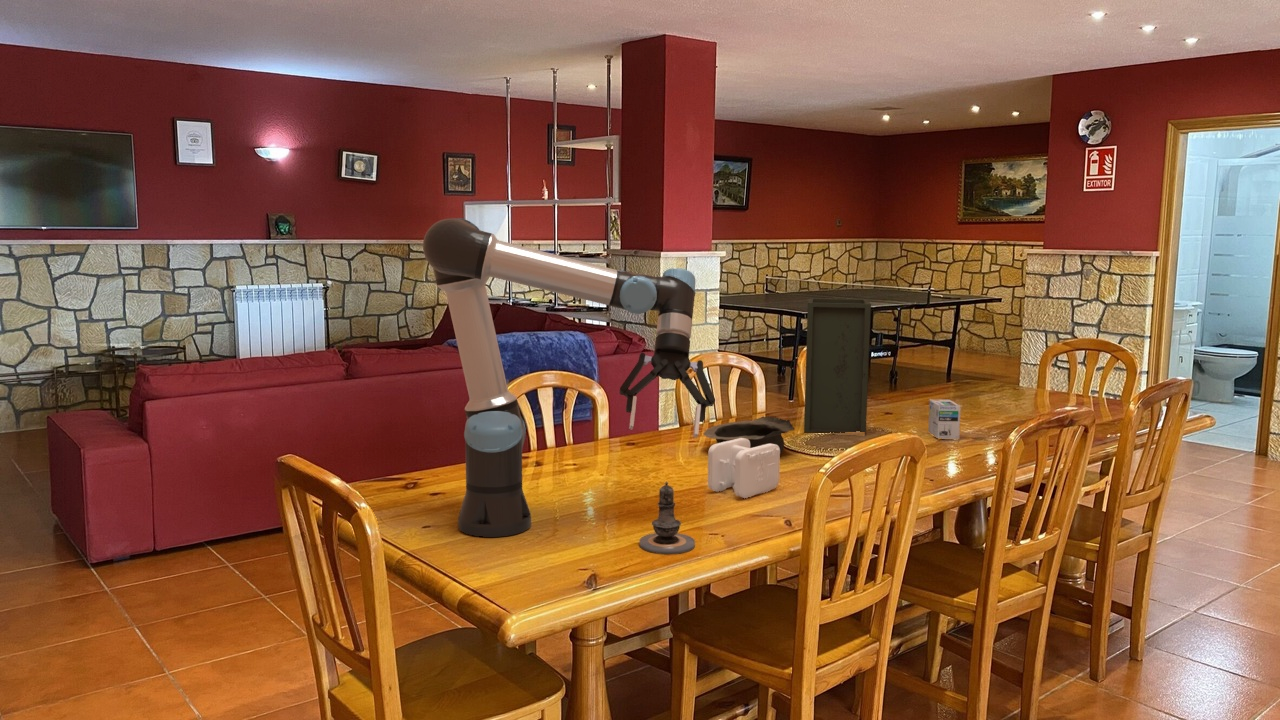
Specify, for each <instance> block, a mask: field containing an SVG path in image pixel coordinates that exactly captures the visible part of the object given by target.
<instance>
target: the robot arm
mask: <svg viewBox="0 0 1280 720" xmlns="http://www.w3.org/2000/svg"><path fill="white" fill-rule="evenodd" d="M422 250H423V251H422V252H423V254H424V255H423V256H424V258H425V260H426V261H427V263H428V264H429V266H431V268H432V270H433V273H434V278H435V283H436V286H437V288H439V289H440V290H441V291H443V292H444V293H445V294H446V301H447V304H448V308H449V312H450V317H451V321H452V325H453V326H452V327H453V330H454V334H455V340H456V345H457V348H458V353H459V358H460V363H461V366H462V372H463V376H464V379H465V385H466V389H467V392H468V397H469V400H468V402H467V403H466V405H465V407H464V412H465V416H466V421H465V424H464V425H465V427H464V432H463V437H464V440H465V441H464V442H465V446H464V447H465V487H466V488H465V495H464V497H463V501H462V504H461V507H460V510H459V514H458V519H457V522H458V524H457V526H458V531H460V532H461V531H462V532H461V533H463V532H464V533H463V534H465V533H466V534H465V535H468V534H469V536H472V535H474V536H473V537H479V536H483V537H482V538H498V537H499V538H500V537H507V536H509V537H510V536H514V535H518V534H521V533H523V532H526V531H527V530H529V529H530V528H531V527H532V514H531V511H530V508H529V504H528V502H527V498H526V496H525V493H524V490H523V448H524V443H525V440H526V434H527V433H526V431H527V430H526V424H525V422H524V420H523V417H522V416H521V411H520V407H519V403H518V398H517V396H516V395H515V394H513V393H512V392H510V391H509V389H508V385H507V380H506V375H505V370H504V366H503V360H502V357H501V353H500V352H501V351H500V348H499V342H498V338H497V333H496V328H495V325H494V320H493V315H492V311H491V306H490V301H489V296H488V291H487V287H486V284H487V282H488V280H489V279H490V278H495V279H498V280H503V281H507V282H510V283H515V284H518V285H523V286H528V287H532V288H535V289H540V290H543V291H548V292H551V293H552V292H553V293H555V294H561V295H563V296H567V297H571V298H576V299H581V300H585V301H589V302H593V303H597V304H602V305H605V306H610V307H613V308H616V309H621V310H624V311H625V310H626V311H627V312H628V313H631V314H636V315H641V314H645V313H647V312H649V311H653V312H654V311H657V312H658V314H657V315H658V316H657V325H656V332H655V333H656V337H655V340H654V342H655V343H654V349H653V350H654V351H653V352H654V353H653V355H652V356H651V355H650V356H649V355H646V353H645V352H641V353H640V354H639V356H638V361H637V362H636V364H635V366H634V367H633V368H632V369H631V371H630V373H629V374H628V376H627V378H626V379H625V380H624V381H623V383H622V384H621V386H620V387H619V395H622V396H625V398H626V405H625V412H626V413H629V414H630V416H629V417H630V418H629V426H628V429H629V430H632V431H633V429H634V425H635V417H636V415H635V414H636V410H637V409H636V407H637V406H636V405H637V399H638V398H637V395H638V394H639V393H640V392H641V391H642V390H643V389H645V388H646V387H647V386H648V385H649V384H650V383H651V382H652V381H654V380H655V379H656V378H657V377H659V378H661V380H671V381H677V380H679V381H680V382H681V383H682V384H683V386H685V388H686V389H687V391H688V392H689V393H690V395H691V397H692V398H693V399H694V401H695V402H696V403H697V404H696V407H695V410H694V413H695V414H694V423H693V435H692V438H696V439H697V438H698V435H699V431H700V430H699V429H700V422H701V423H704V421H705V419H706V413H707V412H706V411H707V408H708V407H713V406H714V404H715V402H716V398H715V396H714V394H713V391H712V389H711V386H710V384H709V382H708V379H707V376H706V374H705V371H704V362H703V360H698V361H690V349H691V348H690V347H691V340H690V339H691V337H692V327H693V316H694V315H693V313H694V306H695V299H696V297H695V296H696V276H695V275H694V273H693V272H691V271H690V270H687V269H684V268H680V267H677V268H674V267H672V268H668V269H666V270H664V272H663V273H662V276H655V275H654V276H653V275H649V274H644V273H639V272H633V271H627V270H618V269H613V268H610V267H605V266H602V265H598V264H595V263H591V262H590V263H589V262H587V261H583V260H579V259H574V258H570V257H566V256H562V255H558V254H554V253H550V252H547V251H543V250H538V249H534V248H530V247H527V246H526V247H525V246H523V245H519V244H515V243H510V242H507V241H503V240H499V239H498V238H497V237H496V236H495V234H494V233H491V232H487V231H484V230H481V229H480V228H479V226H477V225H476V224H475V223H473V222H472V221H470V220H468V219H464V218H461V217H457V218H456V217H454V218H453V217H452V218H444V219H441V220H438V221H436V222H435V223H434V224H432V225H431V226H429V228H428V229H427V231H426V232H425V235H424V237H423V241H422ZM649 363H650V364H651V367H652V368H653V369H651V371H650V372H649V373H648V374H646V375H645V376H644V377H643V378H641V380H639V382H637V383H636V384H635V385H634V386H632V384H633V383H634V380H635V379H636V378H637V376H638V375H639V374H640V372H641V371H642V369H643V366H644V367H645V366H647V365H648V364H649ZM689 369H692V371H693V372H694V373H696V378H697V381H698V382H699V386H700V388H701V390H702V392H703V394H702V392H700V390H699V389H698V387H697V386H696V385H695V383H694V382H693V380H692V379H691V377H690V375H689V373H688V370H689ZM631 386H632V388H630V387H631ZM629 388H630V389H629Z"/></svg>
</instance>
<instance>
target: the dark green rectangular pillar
mask: <svg viewBox="0 0 1280 720" xmlns="http://www.w3.org/2000/svg"><path fill="white" fill-rule="evenodd" d="M871 310H872V304H871V302H870V301H869V299H856V298H855V299H852V298H850V299H849V298H848V299H847V298H845V299H844V298H808V299H807V316H806V317H807V318H806V319H807V320H806V348H805V351H806V352H805V353H806V354H805V356H806V357H805V358H806V359H805V381H804V382H805V384H804V385H805V387H804V414H803V415H804V418H803V419H804V420H803V421H804V422H803V434H804V433H830V432H831V433H833V432H834V433H840V432H841V433H845V432H856V431H860V432H866V433H867V415H868V414H867V412H868V390H869V389H868V387H869V368H870V367H869V361H870V335H871V313H872V312H871Z"/></svg>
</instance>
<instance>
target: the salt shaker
mask: <svg viewBox="0 0 1280 720" xmlns="http://www.w3.org/2000/svg"><path fill="white" fill-rule="evenodd" d="M668 484H669V482H668V481H665V482H664V485H662V486H661V487H660V488H659V490H658V493H659V495H658V496H659V498H658V499H659V502H657V506H658V516H657V519H654V520H652V522H651V526H652V528H653V531H654V533H656V534H657V535H658V536H656V537H655V538H654V539H653V541H654V542H655V543H657V544H662V545H671V544H676V543H678V542H679V541H680V539H679V538H678V537H676V536H674V535H676V534H677V533H678V532H679V530H680V528H681V527H680V526H681V525H682V522H681V521H680V520H678V519H676V517H675V506H676V503H675V502H674V488H673V487H672V486H670V485H668Z"/></svg>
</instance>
